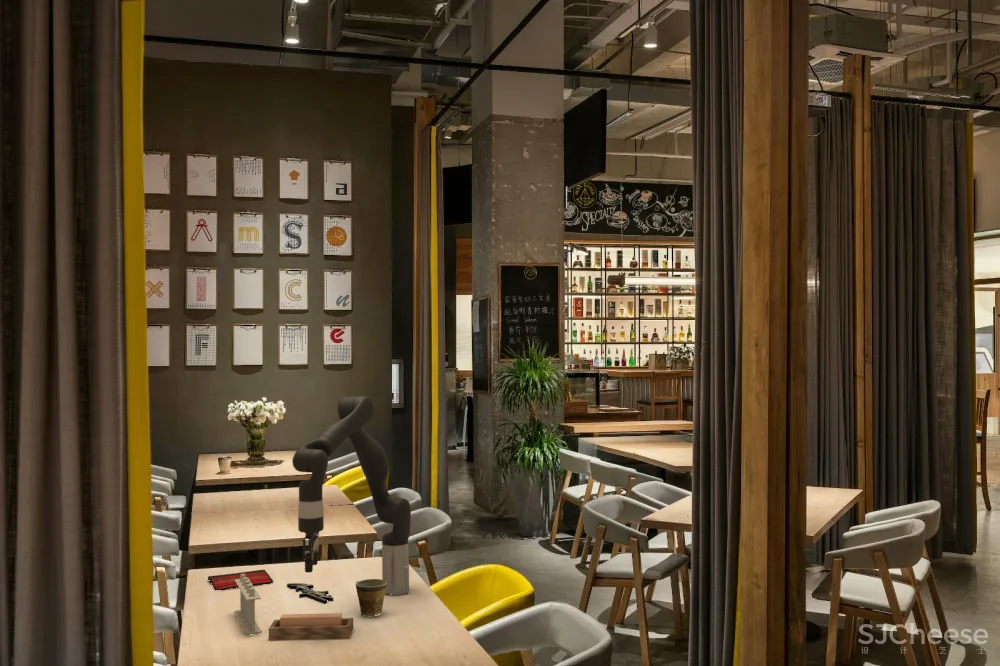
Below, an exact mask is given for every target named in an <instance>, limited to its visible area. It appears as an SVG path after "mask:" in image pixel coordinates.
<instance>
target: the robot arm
mask: <svg viewBox="0 0 1000 666" xmlns="http://www.w3.org/2000/svg"><path fill="white" fill-rule="evenodd" d="M337 413H338V414H337V415H338V417H339V420H338V421H336V422H334V423H332V424H330V425H329V426H327V427H325V428H324V429H323V430H322V431H321V432H320V433H319V434H318V435H317V436H316V438H314V439H313V440H311V441H308V442H307V443H305V444H303V445H302V446H301V447H299V448H297V450H296V451H295V453H294V454H293V457H292V466H293V468H294V469H295V471H297V472H300V473H311V476H310V479H305V480H301V481H300V482H299V484H298V506H297V512H298V514H297V520H298V521H297V525H298V531H299V532H300V533H305V536H304V538H303V539H302V559H303V560H304V572H305V573H312V572H313V571H314V568H313V567H314V566H317V565H318V552H319V548H320V532H321V531H323V530H324V529H325V528H324V527H325V526H324V501H323V486H324V481H325V477H326V473H327V470H328V466H329V465H328V464H329V457H330V456H331V455H333V454H334V452H335V451H336V450H337V449H338V448H339V447H340V446H341V445H342V443H343V442H345V441H346V440H347V439H348V438H349V440H350V441H351V444H352V446H353V449H354V451H355V454H356V456H357V459H358V461H359V464H360V467H361V470H362V472H363V474H364V477H365V479H366V482H367V485H368V488H369V491H370V494H371V496H372V502H373V506H374V509H375V512H376V515H377V517H378V519H379V521H381V522H382V523H385V524H392V530H391V531H389V532H387V533H384V534H383V535H382V536H381V560H382V561H381V563H382V565H381V568H382V569H381V571H382V572H381V574H382V575H381V576H382V578H381V580H385V581H386V582H387V585H386V591H385V595H386V594H392V595H391V596H399V595H398V594H402V595H405V594H404V593H408V594H409V592H410V562H409V538H410V534H411V518H412V517H411V516H412V507H411V503H410V502H409V500H408V499H407V498H403V497H396V496H395V497H394V496H391V495H390V493H389V490H388V488H387V478H388V475H389V473H390V472H389V471H390V463H389V460H388V458H387V455H386V452H385V450H384V447H383V446H382V445H381V444H380V443H379V442H378V441H377V440H376V439H375V438H373V437H372V436H371V435H369V433H367V431H366V430H365V429H364V426H365V425H366V424H368V423H369V422H371V420H372V419H373V417H374V415H375V402H374V401H373V400H372V398H371V397H369V396H367V395H366V396H365V395H357V396H356V395H355V396H354V395H353V396H346V397H342V398H340V400H339V401H338V404H337Z"/></svg>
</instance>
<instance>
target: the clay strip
mask: <svg viewBox="0 0 1000 666" xmlns="http://www.w3.org/2000/svg"><path fill="white" fill-rule="evenodd" d="M342 618H343V613H342V612H339V613H338V612H336V613H335V612H331V613H329V612H327V613H326V612H325V613H324V612H323V613H292V614H291V613H288V614H285V613H283V614H281V616H280V618H279V619H280V627H301V626H342Z"/></svg>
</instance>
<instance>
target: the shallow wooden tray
mask: <svg viewBox="0 0 1000 666" xmlns="http://www.w3.org/2000/svg"><path fill="white" fill-rule="evenodd" d="M353 631H354V617H342V626H301V627H280V618H277V619H273V621H272V623H271V624H270V626H268V641H291V640H292V641H294V640H295V641H297V640H302V641H303V640H342V639H346V640H347V639H348V640H349V639H350V638H351V636H352V634H353Z"/></svg>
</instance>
